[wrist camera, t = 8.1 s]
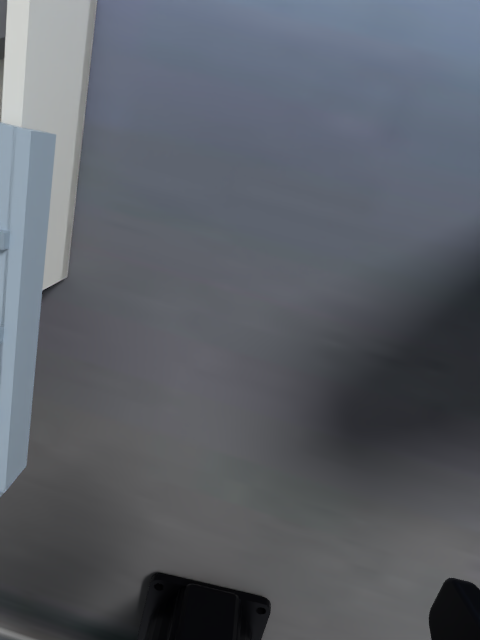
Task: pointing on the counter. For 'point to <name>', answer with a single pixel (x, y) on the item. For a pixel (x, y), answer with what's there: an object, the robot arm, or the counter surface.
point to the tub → (49, 98)
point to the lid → (21, 282)
